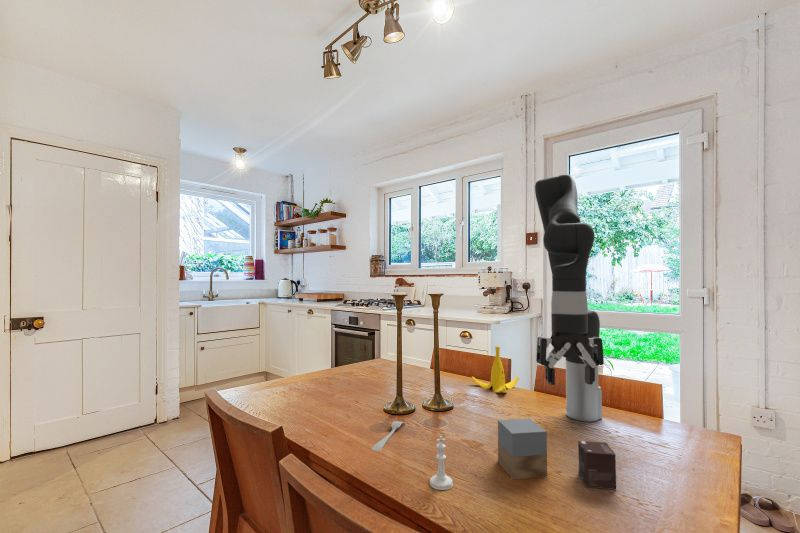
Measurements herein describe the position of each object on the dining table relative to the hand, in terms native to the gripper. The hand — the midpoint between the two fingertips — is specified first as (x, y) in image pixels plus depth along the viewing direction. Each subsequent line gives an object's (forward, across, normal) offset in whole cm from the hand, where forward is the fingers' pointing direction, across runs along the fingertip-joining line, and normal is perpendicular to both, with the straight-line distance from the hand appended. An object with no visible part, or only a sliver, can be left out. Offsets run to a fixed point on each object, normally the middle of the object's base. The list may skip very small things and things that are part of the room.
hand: (569, 383), depth 87 cm
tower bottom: (+20, +10, -3) cm, 23 cm away
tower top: (+15, +10, -2) cm, 18 cm away
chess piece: (+20, +29, +3) cm, 36 cm away
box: (+20, -4, +3) cm, 21 cm away
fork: (+20, +40, -23) cm, 50 cm away
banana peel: (+20, 0, -67) cm, 70 cm away
